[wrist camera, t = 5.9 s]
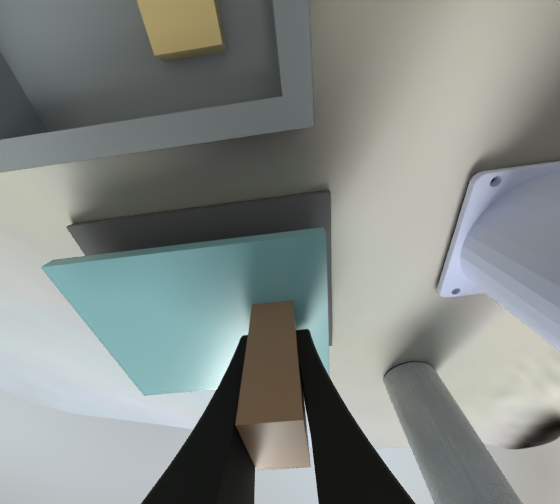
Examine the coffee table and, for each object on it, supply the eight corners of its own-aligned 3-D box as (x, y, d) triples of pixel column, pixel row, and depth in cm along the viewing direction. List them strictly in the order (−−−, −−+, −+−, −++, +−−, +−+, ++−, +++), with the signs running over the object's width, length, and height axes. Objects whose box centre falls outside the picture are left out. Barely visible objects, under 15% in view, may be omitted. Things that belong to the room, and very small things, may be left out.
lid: (320, 220, 10) (373, 333, 4) (325, 359, 15) (353, 493, 10) (67, 251, 11) (-160, 384, 5) (154, 375, 16) (87, 508, 10)
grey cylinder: (380, 367, 19) (470, 576, 10) (434, 355, 19) (581, 569, 10) (385, 393, 21) (464, 584, 12) (434, 383, 21) (554, 578, 12)
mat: (328, 189, 11) (330, 192, 11) (330, 341, 17) (332, 345, 17) (72, 224, 12) (66, 226, 12) (160, 358, 18) (158, 362, 18)
